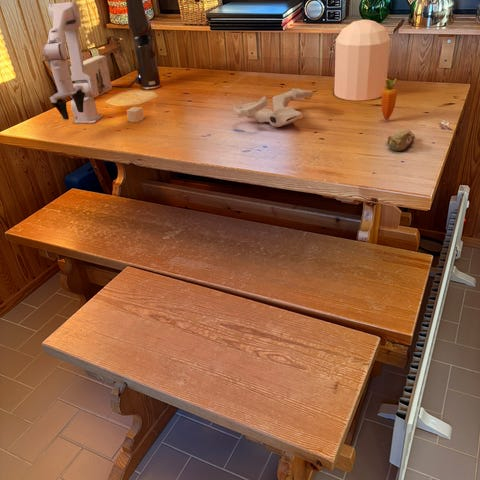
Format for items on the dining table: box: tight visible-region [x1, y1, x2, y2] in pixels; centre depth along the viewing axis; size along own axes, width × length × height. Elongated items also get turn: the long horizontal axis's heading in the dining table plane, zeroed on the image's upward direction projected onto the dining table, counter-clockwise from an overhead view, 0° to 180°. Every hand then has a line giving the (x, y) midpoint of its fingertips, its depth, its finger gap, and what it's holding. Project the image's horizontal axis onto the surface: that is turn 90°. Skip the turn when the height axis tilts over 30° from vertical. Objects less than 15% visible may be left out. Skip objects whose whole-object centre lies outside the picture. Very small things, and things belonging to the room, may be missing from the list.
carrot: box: [380, 78, 398, 122], centre depth 161 cm, size 5×5×15 cm
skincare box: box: [69, 54, 113, 99], centre depth 218 cm, size 21×6×16 cm, turn 158°
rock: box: [387, 129, 416, 152], centre depth 146 cm, size 11×6×10 cm
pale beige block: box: [125, 106, 145, 123], centre depth 188 cm, size 5×5×4 cm
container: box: [333, 19, 391, 102], centre depth 186 cm, size 21×21×28 cm
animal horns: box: [231, 88, 314, 128], centre depth 171 cm, size 28×26×12 cm
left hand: (73, 115), depth 173 cm, fingers open, 7 cm apart
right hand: (202, 0), depth 195 cm, fingers open, 8 cm apart
